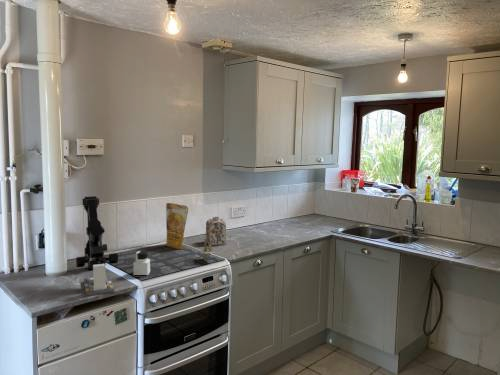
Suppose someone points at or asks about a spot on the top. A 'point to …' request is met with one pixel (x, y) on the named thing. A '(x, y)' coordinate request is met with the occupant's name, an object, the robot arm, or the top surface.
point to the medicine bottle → (141, 263)
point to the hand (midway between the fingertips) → (98, 276)
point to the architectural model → (204, 250)
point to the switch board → (89, 290)
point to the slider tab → (99, 277)
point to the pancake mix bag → (175, 224)
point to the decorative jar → (216, 231)
